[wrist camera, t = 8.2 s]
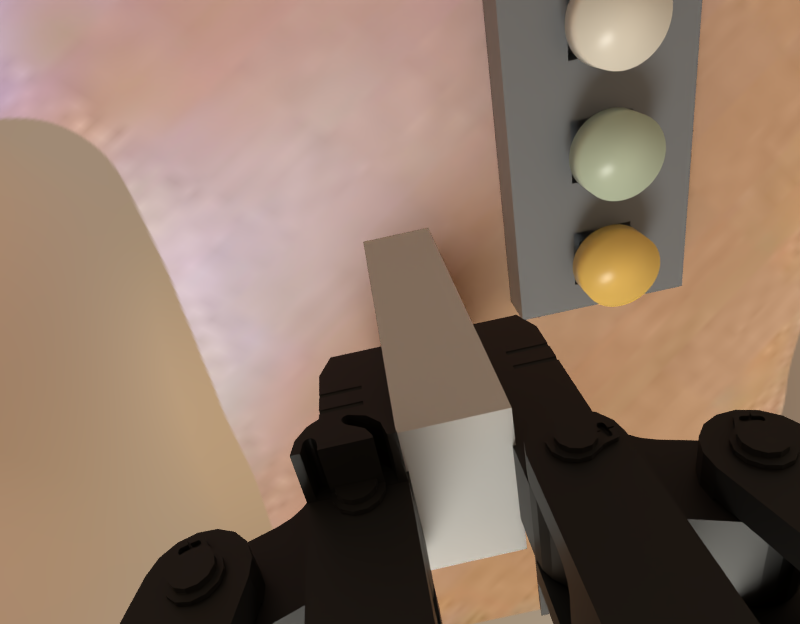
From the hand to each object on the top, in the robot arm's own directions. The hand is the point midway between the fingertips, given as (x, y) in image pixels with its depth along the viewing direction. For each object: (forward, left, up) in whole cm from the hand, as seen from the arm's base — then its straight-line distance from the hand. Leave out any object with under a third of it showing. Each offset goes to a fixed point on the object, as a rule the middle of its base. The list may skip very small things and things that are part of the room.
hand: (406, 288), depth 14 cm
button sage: (+5, +15, -25) cm, 29 cm away
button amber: (+13, +15, -25) cm, 31 cm away
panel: (+5, +15, -26) cm, 31 cm away
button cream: (-2, +15, -25) cm, 29 cm away
